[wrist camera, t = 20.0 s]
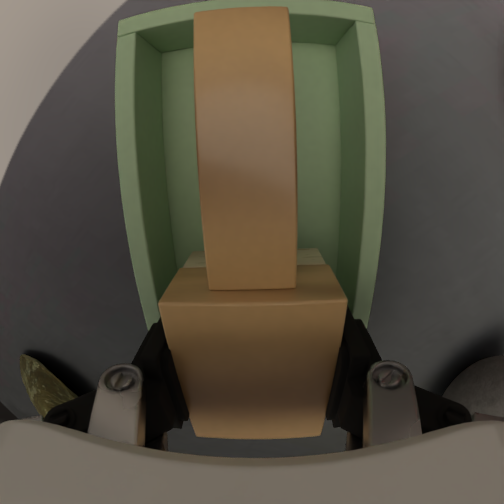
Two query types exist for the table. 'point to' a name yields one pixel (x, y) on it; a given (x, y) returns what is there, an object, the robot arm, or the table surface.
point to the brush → (251, 246)
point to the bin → (308, 142)
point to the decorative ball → (480, 387)
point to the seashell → (43, 385)
